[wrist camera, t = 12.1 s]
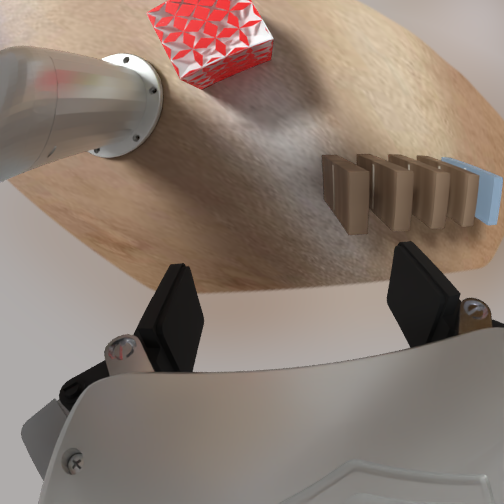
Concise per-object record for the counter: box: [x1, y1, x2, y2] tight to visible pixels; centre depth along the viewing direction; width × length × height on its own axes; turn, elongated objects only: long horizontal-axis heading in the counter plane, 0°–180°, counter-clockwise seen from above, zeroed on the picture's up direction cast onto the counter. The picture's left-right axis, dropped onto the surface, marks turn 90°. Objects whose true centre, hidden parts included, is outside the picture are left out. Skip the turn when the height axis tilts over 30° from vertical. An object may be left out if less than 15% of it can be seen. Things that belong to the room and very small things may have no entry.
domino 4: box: [417, 156, 480, 227], centre depth 23 cm, size 2×5×10 cm, turn 7°
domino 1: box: [322, 155, 369, 235], centre depth 24 cm, size 2×5×10 cm, turn 6°
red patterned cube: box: [146, 0, 274, 90], centre depth 18 cm, size 8×8×8 cm
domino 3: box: [389, 154, 450, 229], centre depth 23 cm, size 2×5×10 cm, turn 6°
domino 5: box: [442, 157, 503, 225], centre depth 22 cm, size 2×5×10 cm, turn 7°
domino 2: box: [357, 154, 414, 232], centre depth 23 cm, size 2×5×10 cm, turn 6°
